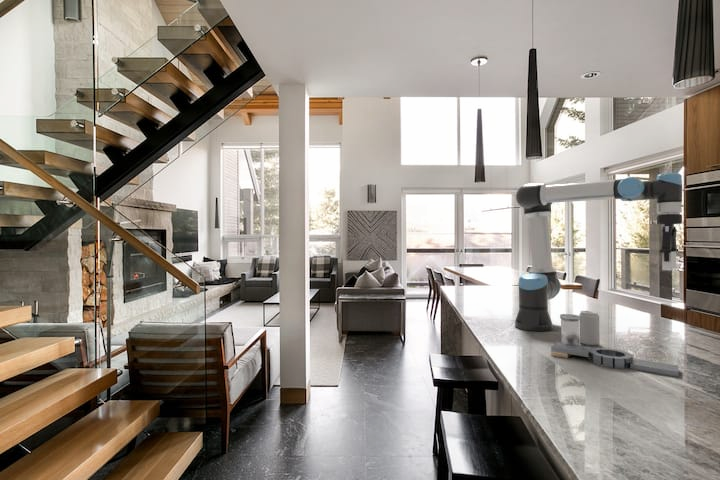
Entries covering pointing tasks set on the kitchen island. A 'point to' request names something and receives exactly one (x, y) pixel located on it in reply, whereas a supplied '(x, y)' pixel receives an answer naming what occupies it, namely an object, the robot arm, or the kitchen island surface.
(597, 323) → the beverage can
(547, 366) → the kitchen island surface
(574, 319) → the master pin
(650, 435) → the kitchen island surface
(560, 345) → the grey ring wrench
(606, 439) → the kitchen island surface
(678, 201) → the robot arm
